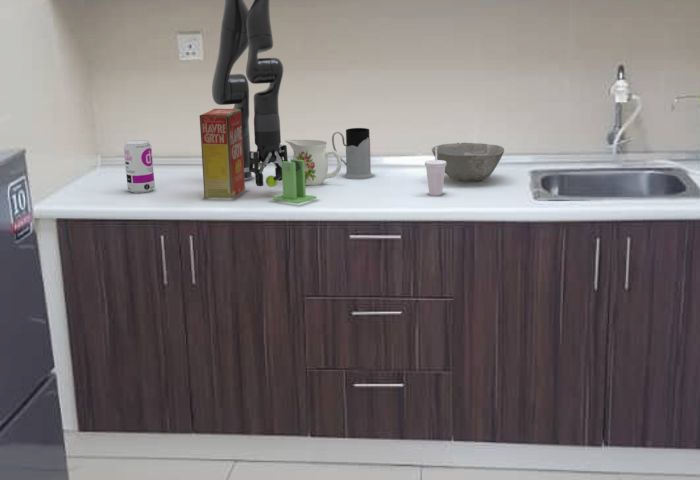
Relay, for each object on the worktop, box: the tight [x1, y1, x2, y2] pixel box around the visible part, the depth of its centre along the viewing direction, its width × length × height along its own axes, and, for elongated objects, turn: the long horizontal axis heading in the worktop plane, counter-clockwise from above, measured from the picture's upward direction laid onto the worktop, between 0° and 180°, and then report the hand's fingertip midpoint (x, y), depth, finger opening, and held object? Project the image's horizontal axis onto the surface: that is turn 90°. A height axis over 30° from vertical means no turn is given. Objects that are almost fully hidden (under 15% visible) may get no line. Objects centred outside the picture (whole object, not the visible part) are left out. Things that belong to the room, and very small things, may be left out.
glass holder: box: [331, 127, 373, 180], centre depth 317 cm, size 9×14×15 cm, turn 58°
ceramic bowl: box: [431, 142, 505, 183], centre depth 308 cm, size 22×23×10 cm
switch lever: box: [265, 161, 300, 188], centre depth 286 cm, size 13×3×3 cm, turn 53°
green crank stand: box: [272, 158, 317, 205], centre depth 284 cm, size 10×8×12 cm
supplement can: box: [123, 139, 156, 194], centre depth 301 cm, size 8×8×15 cm
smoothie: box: [424, 146, 446, 197], centre depth 289 cm, size 6×6×14 cm
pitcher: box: [284, 139, 342, 186], centre depth 304 cm, size 11×18×14 cm, turn 74°
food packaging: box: [199, 108, 246, 199], centre depth 291 cm, size 13×9×25 cm
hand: (269, 183), depth 290 cm, fingers open, 8 cm apart
